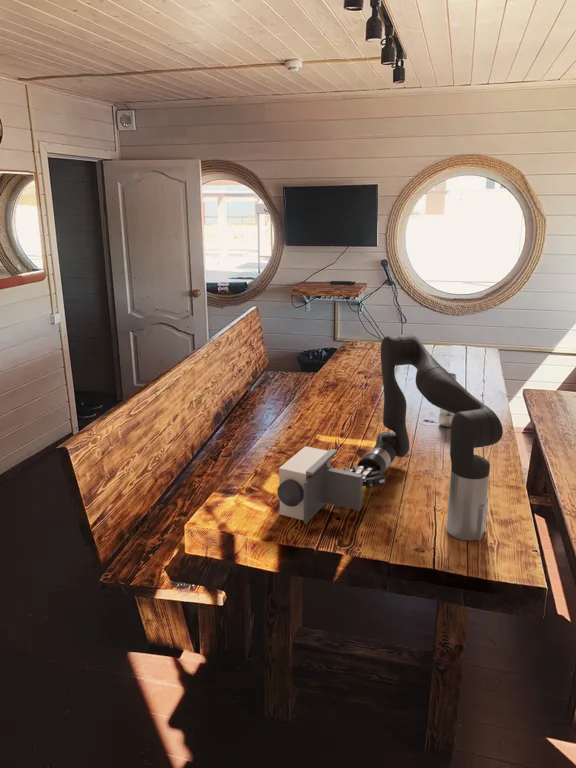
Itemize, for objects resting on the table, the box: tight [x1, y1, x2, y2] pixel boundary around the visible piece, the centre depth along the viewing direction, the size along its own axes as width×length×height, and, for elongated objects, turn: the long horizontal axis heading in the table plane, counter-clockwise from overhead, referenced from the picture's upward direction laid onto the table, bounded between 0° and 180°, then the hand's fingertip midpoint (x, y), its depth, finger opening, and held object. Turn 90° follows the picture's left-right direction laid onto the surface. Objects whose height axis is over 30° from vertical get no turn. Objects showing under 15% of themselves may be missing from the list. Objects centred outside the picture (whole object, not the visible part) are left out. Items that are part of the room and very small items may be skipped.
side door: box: [303, 463, 364, 525], centre depth 162 cm, size 11×13×12 cm
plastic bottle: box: [438, 372, 457, 428], centre depth 224 cm, size 6×7×20 cm
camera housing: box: [276, 446, 338, 522], centre depth 169 cm, size 10×18×15 cm, turn 152°
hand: (352, 488), depth 166 cm, fingers closed
